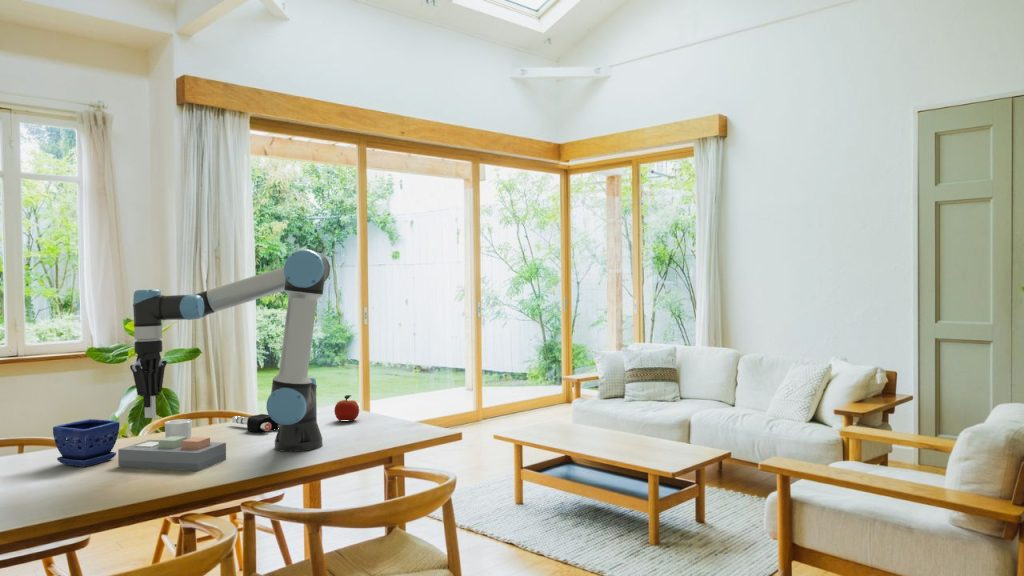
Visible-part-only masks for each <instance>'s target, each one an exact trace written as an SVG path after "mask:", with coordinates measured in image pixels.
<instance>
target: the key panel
mask: <svg viewBox="0 0 1024 576" xmlns="http://www.w3.org/2000/svg"><path fill="white" fill-rule="evenodd" d="M159 440H160V439H148V440H145V441H141V442H138V443H135V444H132V445H128V446H124V447H121V448H118V449H117V453H118V454H117V456H118V459H117V460H118V468H134V469H135V468H137V469H152V470H153V469H155V470H172V471H177V470H178V471H193V472H194V471H195V472H200V471H201V470H204V469H206V468H209V467H211V466H214V465H216V464H219V463H221V462H223V461H226V460H227V443H226V442H218V441H217V442H215V441H210V446H208V447H205V448H202V449H199V450H191V449H182V447H179V448H176V449H167V448H159V446H156V447H152V448H144V447H136V445H140V444H143V443H146V442H159Z"/></svg>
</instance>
